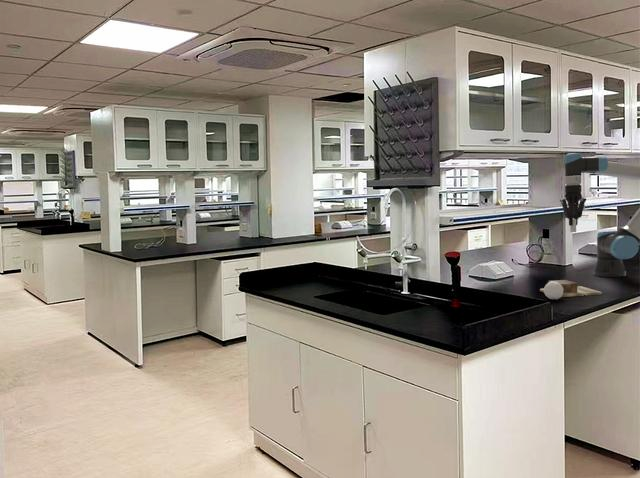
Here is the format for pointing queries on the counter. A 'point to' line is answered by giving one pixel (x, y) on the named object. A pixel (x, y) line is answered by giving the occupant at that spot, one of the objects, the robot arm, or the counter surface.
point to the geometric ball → (553, 290)
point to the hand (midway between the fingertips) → (573, 232)
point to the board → (580, 292)
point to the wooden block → (567, 286)
